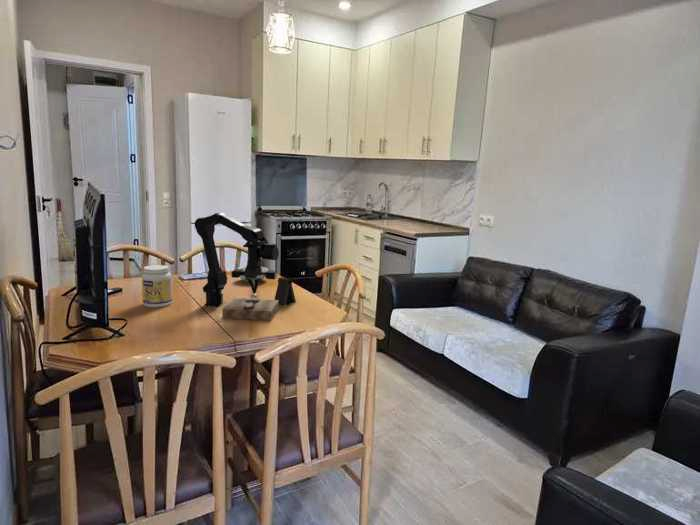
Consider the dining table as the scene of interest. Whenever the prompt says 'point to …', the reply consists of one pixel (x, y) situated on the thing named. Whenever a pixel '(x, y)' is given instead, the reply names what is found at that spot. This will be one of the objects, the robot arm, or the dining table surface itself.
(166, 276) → the supplement tub
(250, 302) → the black capped peg
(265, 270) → the cereal bowl
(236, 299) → the walnut block
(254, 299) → the brass capped peg
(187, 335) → the dining table surface
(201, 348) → the dining table surface
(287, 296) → the phone stand
